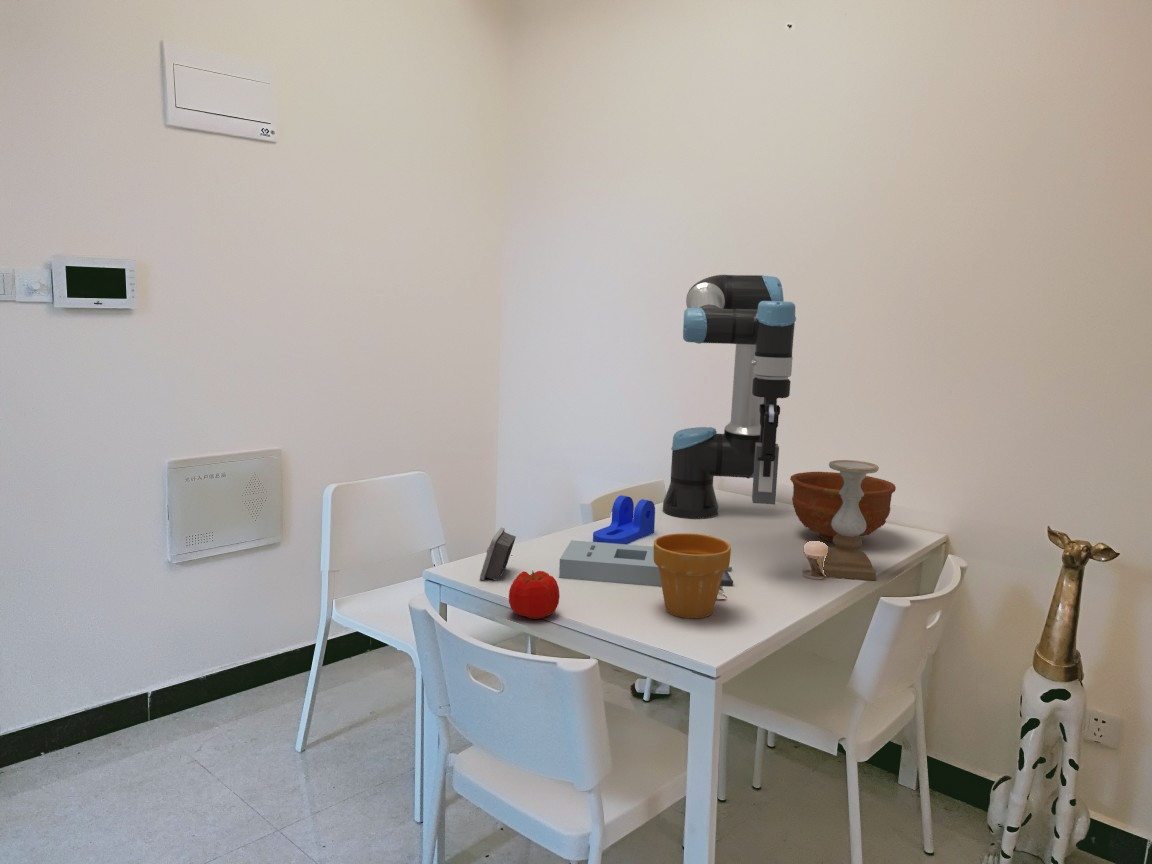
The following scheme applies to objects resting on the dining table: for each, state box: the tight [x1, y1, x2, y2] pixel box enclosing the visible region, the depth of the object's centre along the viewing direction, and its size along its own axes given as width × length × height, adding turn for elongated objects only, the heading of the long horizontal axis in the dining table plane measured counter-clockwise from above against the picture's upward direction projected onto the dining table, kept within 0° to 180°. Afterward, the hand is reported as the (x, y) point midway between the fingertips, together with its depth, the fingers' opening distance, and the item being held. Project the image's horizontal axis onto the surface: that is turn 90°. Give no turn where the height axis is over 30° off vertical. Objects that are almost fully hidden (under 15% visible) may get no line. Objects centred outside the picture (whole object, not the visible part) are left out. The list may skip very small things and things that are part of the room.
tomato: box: [508, 570, 561, 620], centre depth 151 cm, size 9×9×8 cm
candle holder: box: [823, 459, 880, 582], centre depth 180 cm, size 11×11×24 cm
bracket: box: [592, 494, 656, 545], centre depth 202 cm, size 18×8×9 cm, turn 145°
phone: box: [720, 570, 734, 587], centre depth 173 cm, size 7×14×1 cm, turn 91°
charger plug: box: [751, 443, 780, 505], centre depth 173 cm, size 4×4×12 cm
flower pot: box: [653, 532, 732, 619], centre depth 155 cm, size 14×14×13 cm
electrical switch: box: [479, 527, 517, 581], centre depth 172 cm, size 9×5×9 cm, turn 174°
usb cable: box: [726, 566, 733, 572], centre depth 182 cm, size 15×1×1 cm, turn 71°
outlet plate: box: [558, 539, 662, 587], centre depth 176 cm, size 14×22×4 cm, turn 81°
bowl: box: [789, 471, 897, 543], centre depth 206 cm, size 25×25×15 cm
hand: (764, 488), depth 173 cm, fingers closed on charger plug, 4 cm apart
